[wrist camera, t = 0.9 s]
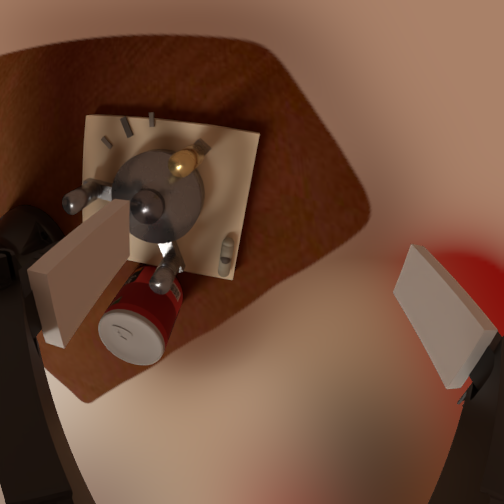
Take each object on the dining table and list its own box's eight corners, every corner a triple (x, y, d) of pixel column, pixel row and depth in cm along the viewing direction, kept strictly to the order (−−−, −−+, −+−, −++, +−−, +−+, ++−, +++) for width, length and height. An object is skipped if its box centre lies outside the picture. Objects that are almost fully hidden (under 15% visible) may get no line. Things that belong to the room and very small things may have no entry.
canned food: (135, 255, 40) (99, 302, 30) (191, 276, 41) (170, 330, 31) (126, 299, 43) (95, 349, 33) (177, 318, 44) (157, 374, 34)
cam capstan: (179, 270, 38) (164, 303, 32) (86, 184, 33) (53, 203, 27) (260, 193, 33) (259, 215, 27) (155, 94, 29) (128, 93, 23)
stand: (90, 244, 39) (78, 256, 36) (95, 107, 32) (79, 109, 28) (234, 272, 40) (231, 287, 37) (261, 125, 32) (261, 127, 29)
